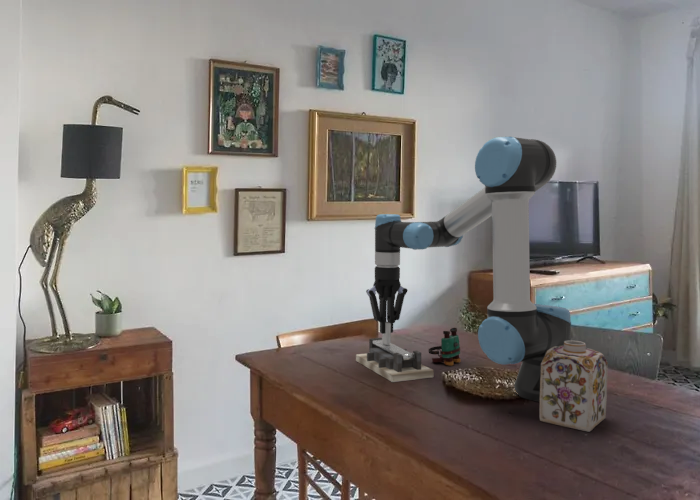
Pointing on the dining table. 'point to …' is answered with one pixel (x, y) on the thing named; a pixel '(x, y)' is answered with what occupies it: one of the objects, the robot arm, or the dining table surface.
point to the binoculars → (448, 348)
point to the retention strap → (395, 350)
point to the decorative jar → (573, 386)
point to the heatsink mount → (393, 364)
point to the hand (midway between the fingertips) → (386, 343)
